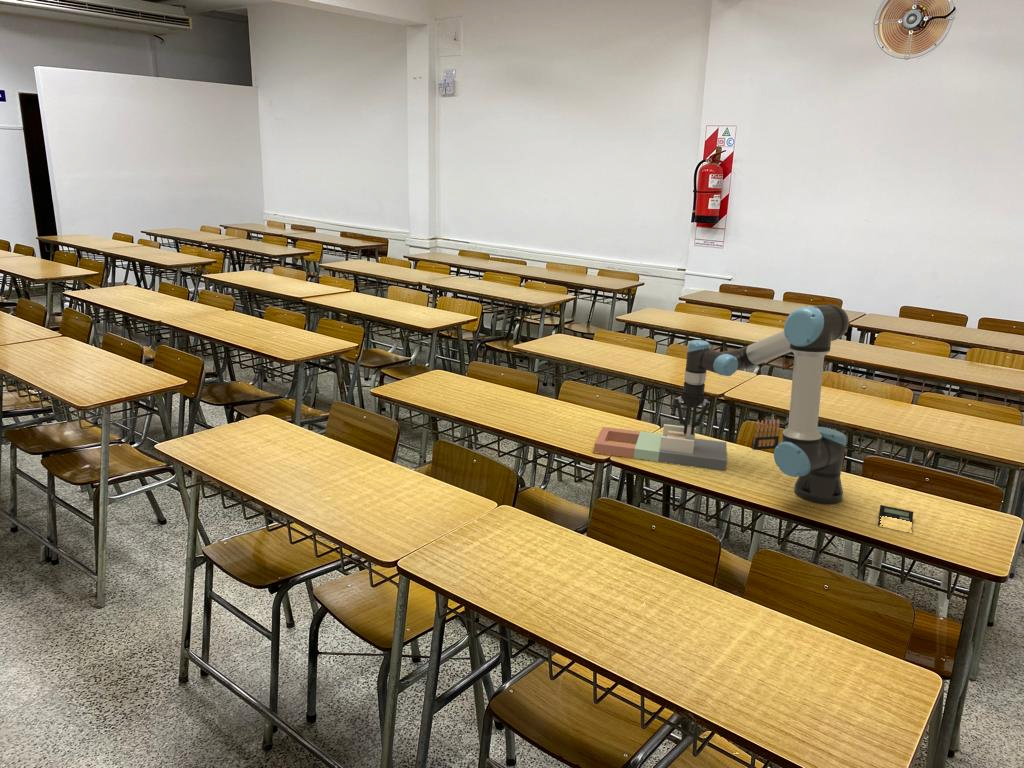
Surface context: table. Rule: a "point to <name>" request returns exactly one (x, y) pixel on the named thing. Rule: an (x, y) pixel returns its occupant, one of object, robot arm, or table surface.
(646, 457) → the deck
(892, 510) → the calculator
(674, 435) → the block
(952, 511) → the table surface
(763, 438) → the ammunition clip
